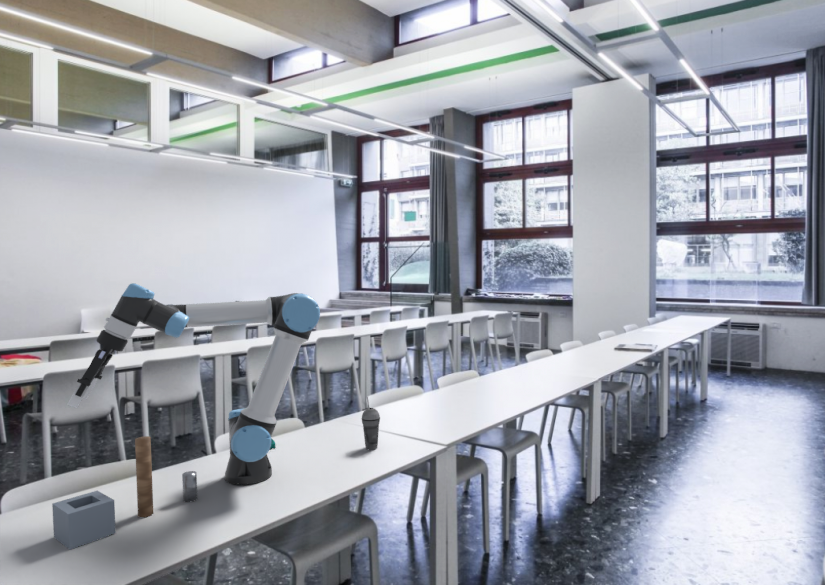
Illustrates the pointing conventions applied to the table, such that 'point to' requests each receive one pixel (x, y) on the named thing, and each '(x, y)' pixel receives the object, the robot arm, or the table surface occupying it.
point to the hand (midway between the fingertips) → (76, 402)
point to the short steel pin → (189, 486)
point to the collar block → (83, 519)
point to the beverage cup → (371, 427)
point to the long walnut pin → (144, 476)
